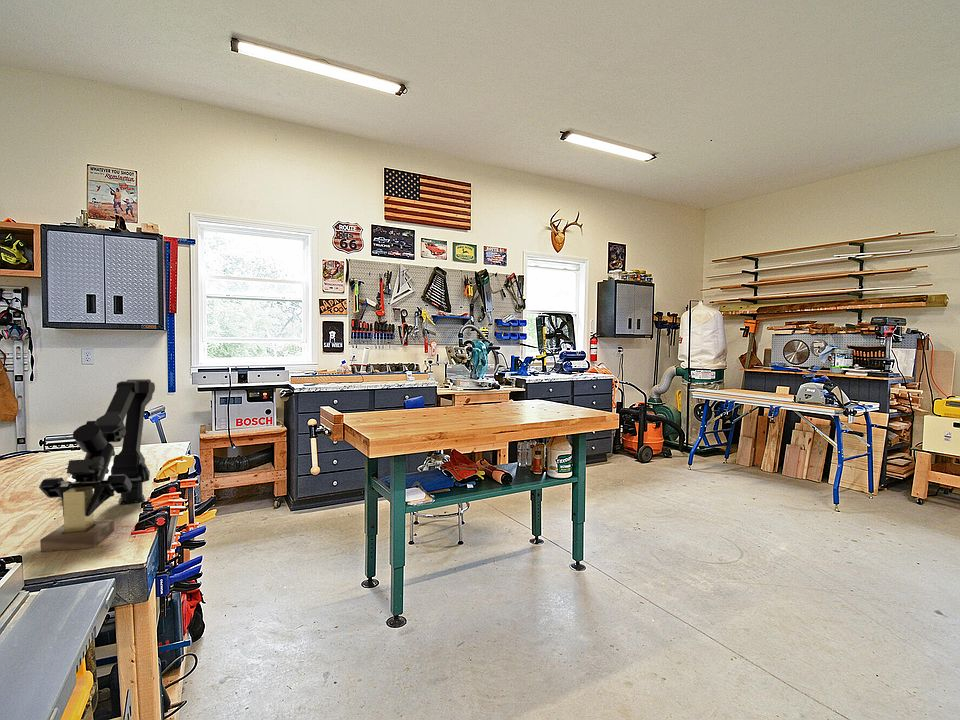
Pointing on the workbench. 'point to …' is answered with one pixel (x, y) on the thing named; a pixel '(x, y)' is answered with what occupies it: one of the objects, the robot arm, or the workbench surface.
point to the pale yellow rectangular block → (77, 510)
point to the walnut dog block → (77, 537)
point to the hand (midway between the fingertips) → (76, 516)
